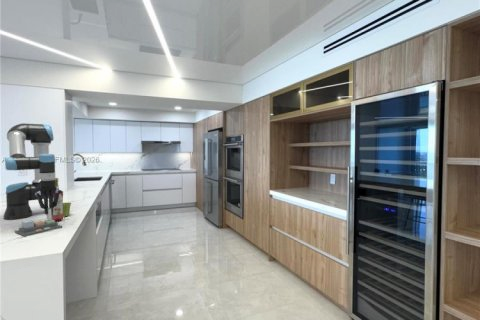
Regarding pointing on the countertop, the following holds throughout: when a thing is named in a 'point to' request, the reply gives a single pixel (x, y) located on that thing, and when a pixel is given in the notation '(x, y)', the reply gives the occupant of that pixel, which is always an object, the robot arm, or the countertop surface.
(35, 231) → the keypad
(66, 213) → the plant pot
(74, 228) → the countertop surface
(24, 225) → the key bluegrey
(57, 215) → the liquor
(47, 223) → the key sage
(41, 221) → the key terracotta
